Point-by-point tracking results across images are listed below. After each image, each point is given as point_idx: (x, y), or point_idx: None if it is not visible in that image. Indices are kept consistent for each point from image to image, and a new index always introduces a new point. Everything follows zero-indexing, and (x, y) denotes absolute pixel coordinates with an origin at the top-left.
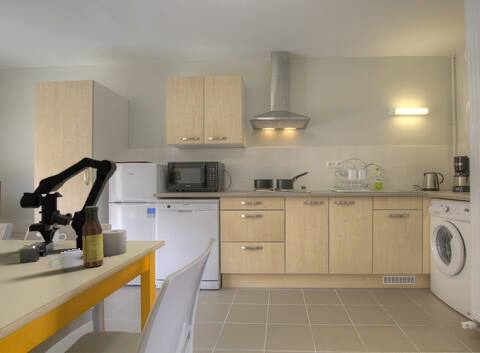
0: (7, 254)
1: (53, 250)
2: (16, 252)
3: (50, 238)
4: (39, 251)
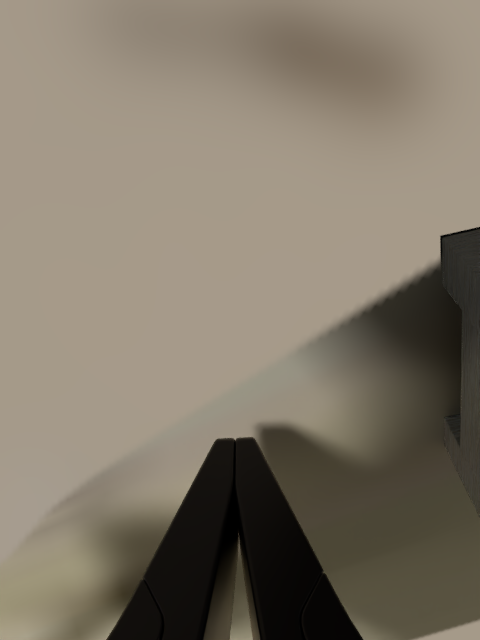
0: (473, 610)
1: (468, 241)
2: (391, 595)
3: (304, 558)
4: (452, 424)
